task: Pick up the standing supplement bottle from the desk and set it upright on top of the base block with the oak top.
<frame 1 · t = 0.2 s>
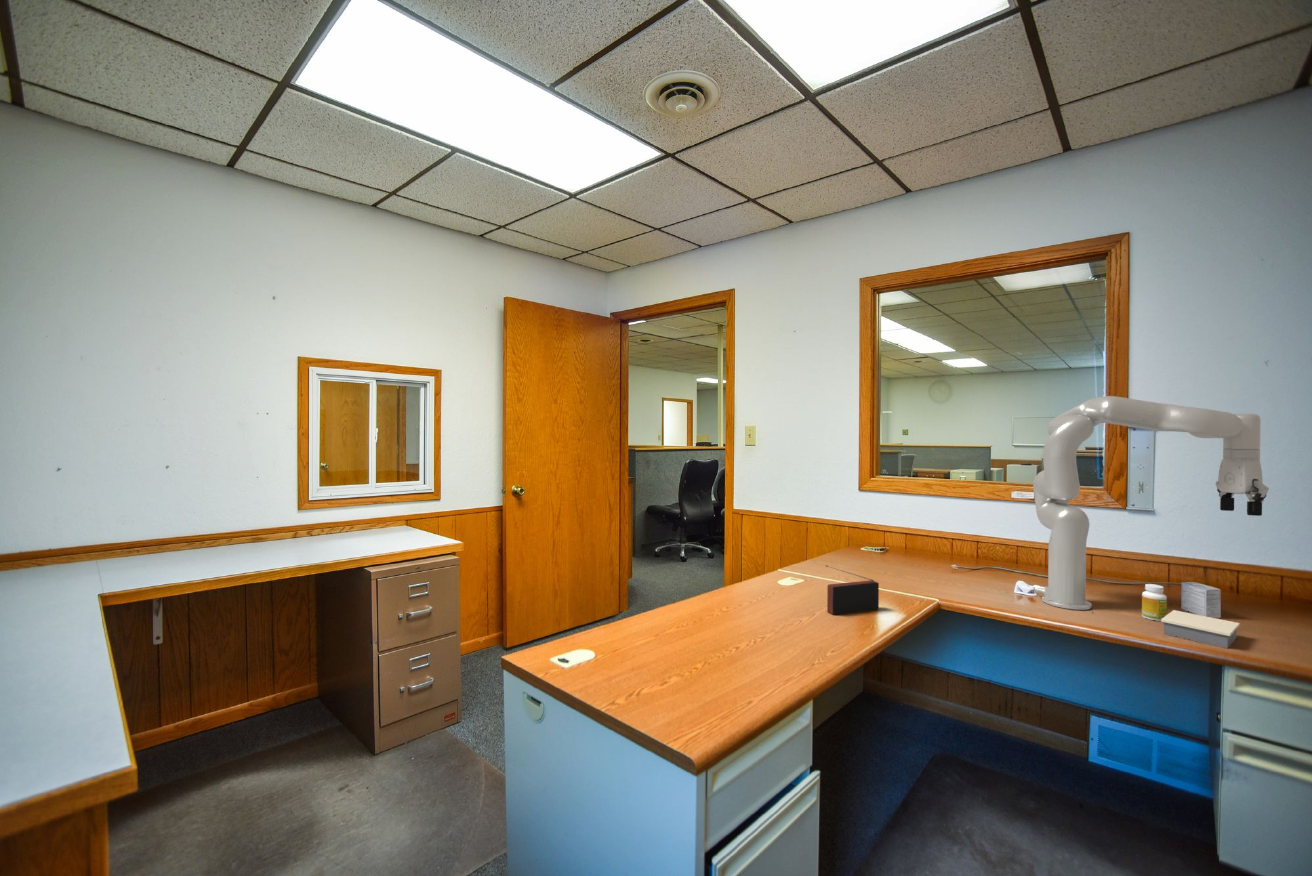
hand: (1240, 512, 162), 31 cm above the table, tool pointing down, fingers open, 9 cm apart
supplement bottle: (1153, 619, 160), on the table
medicine box: (1200, 614, 164), on the table
base block: (1199, 636, 147), on the table
radio: (849, 612, 167), on the table
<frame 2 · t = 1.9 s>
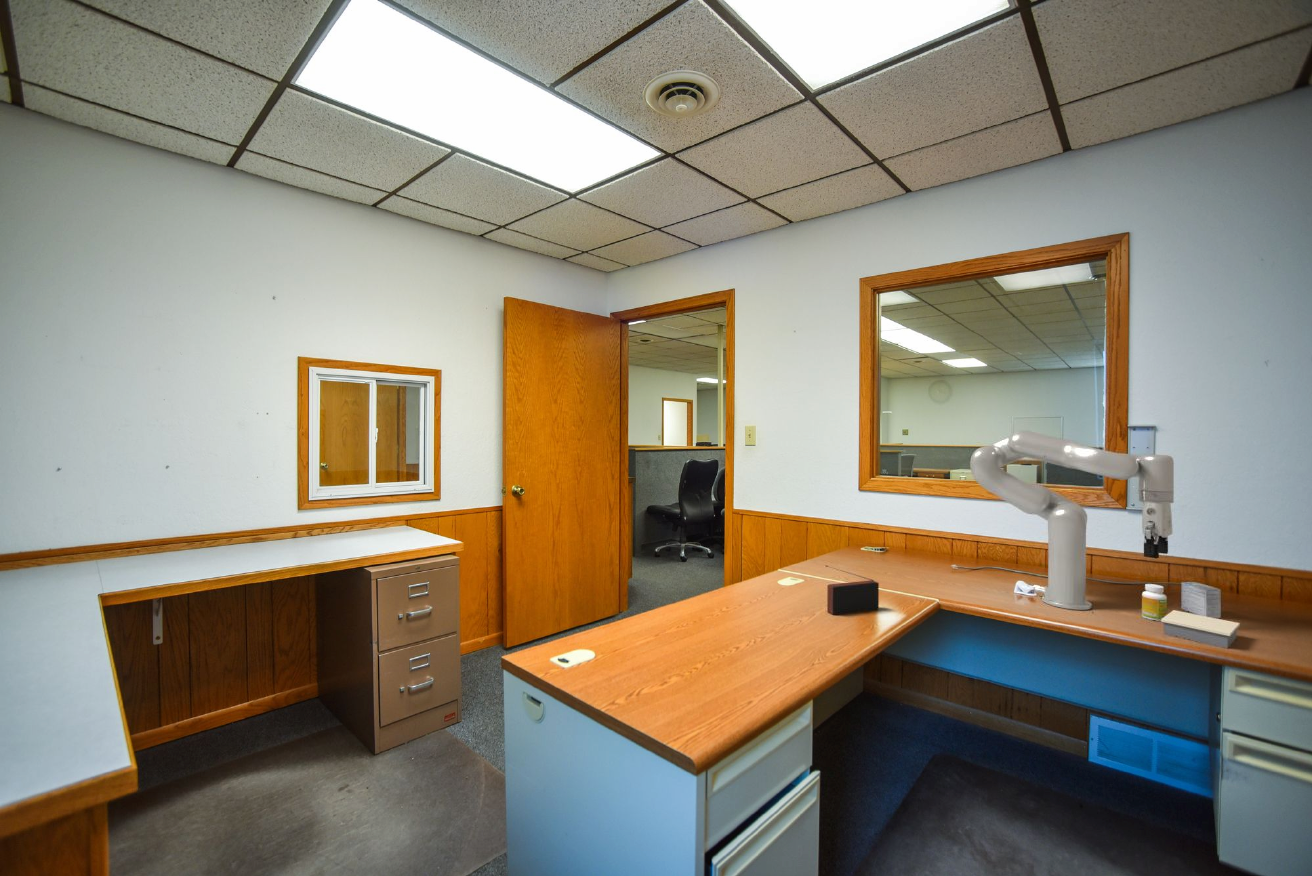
hand: (1156, 555, 160), 19 cm above the table, tool pointing down, fingers open, 9 cm apart
nothing on the table moved.
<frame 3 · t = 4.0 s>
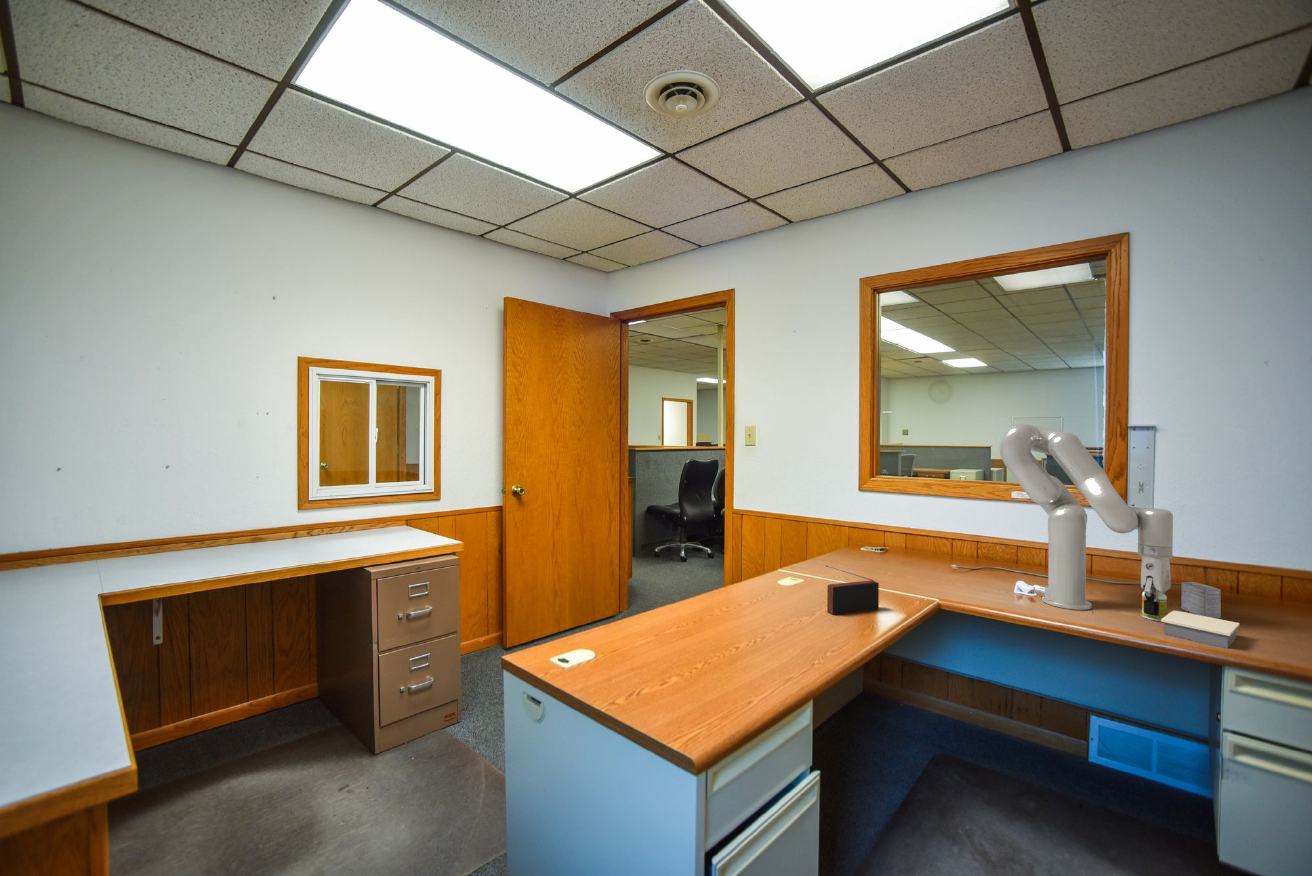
hand: (1154, 611, 160), 2 cm above the table, tool pointing down, fingers closed on supplement bottle, 5 cm apart
supplement bottle: (1153, 619, 160), on the table, touching gripper
everything else where it was.
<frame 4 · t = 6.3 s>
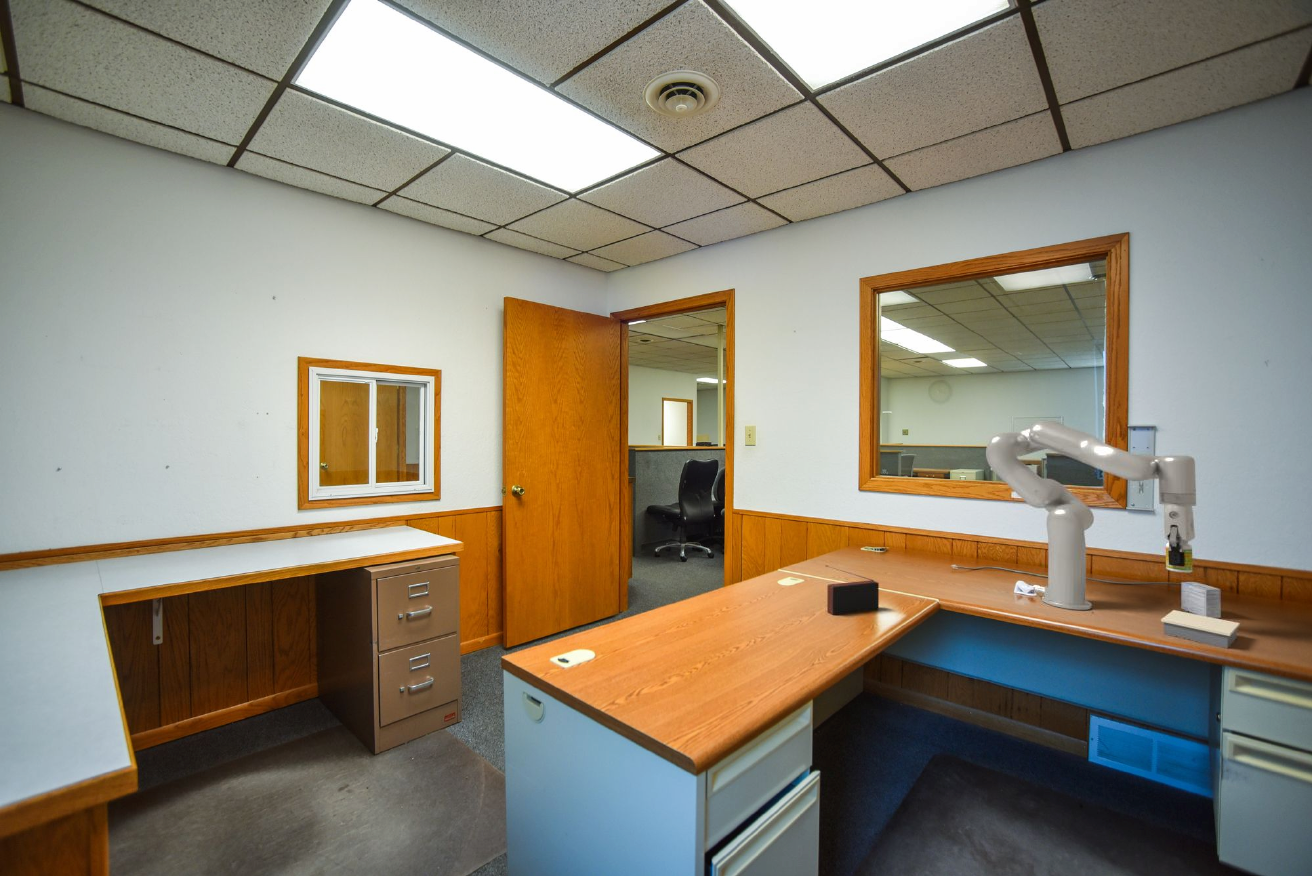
hand: (1179, 563, 153), 18 cm above the table, tool pointing down, fingers closed on supplement bottle, 5 cm apart
supplement bottle: (1179, 571, 153), point 16 cm above the table, touching gripper
everything else where it was.
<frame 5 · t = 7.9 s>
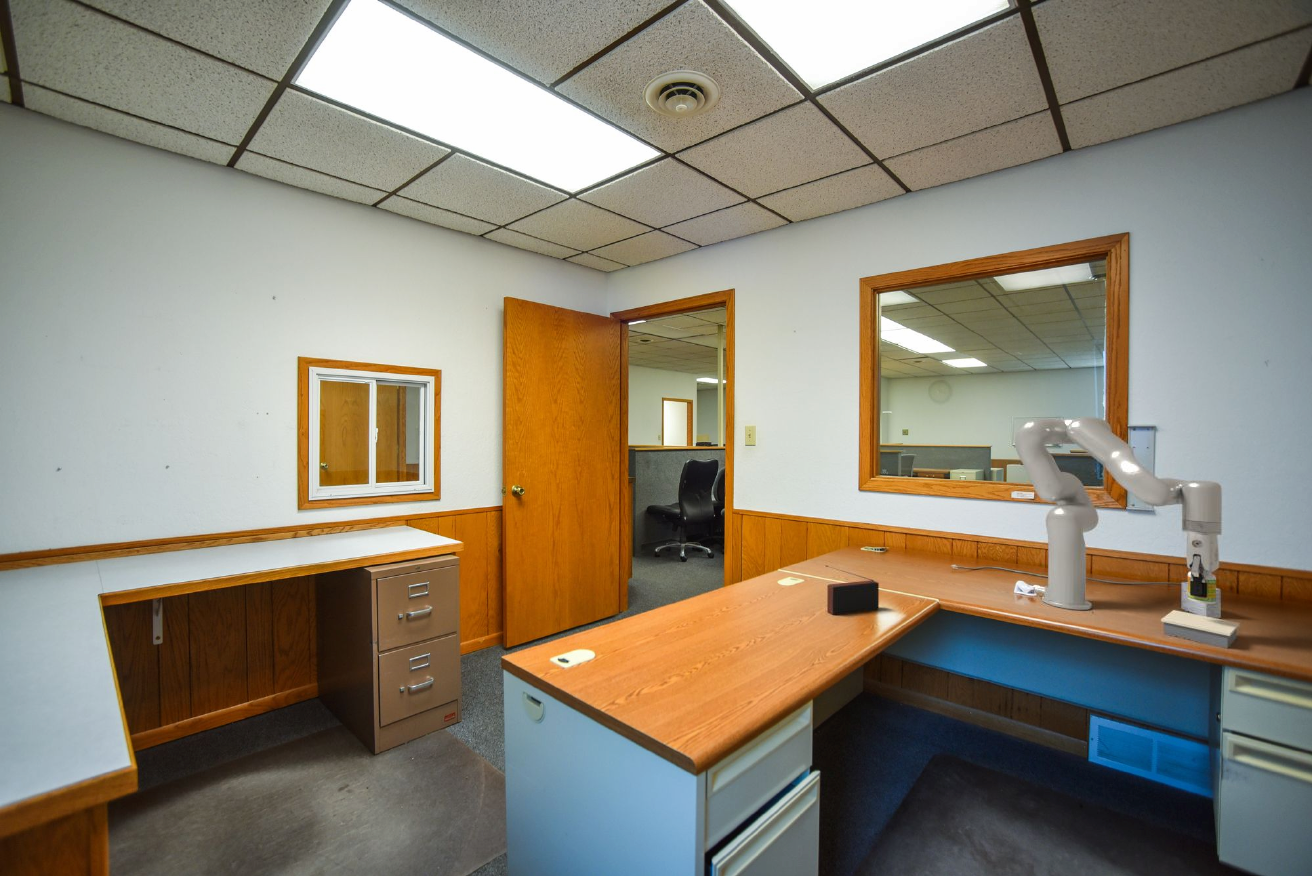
hand: (1201, 593, 146), 11 cm above the table, tool pointing down, fingers closed on supplement bottle, 5 cm apart
supplement bottle: (1201, 602, 146), point 9 cm above the table, touching gripper
everything else where it was.
when the fingers open (7 cm above the table, at t = 9.0 s): supplement bottle drops 1 cm, resting on base block.
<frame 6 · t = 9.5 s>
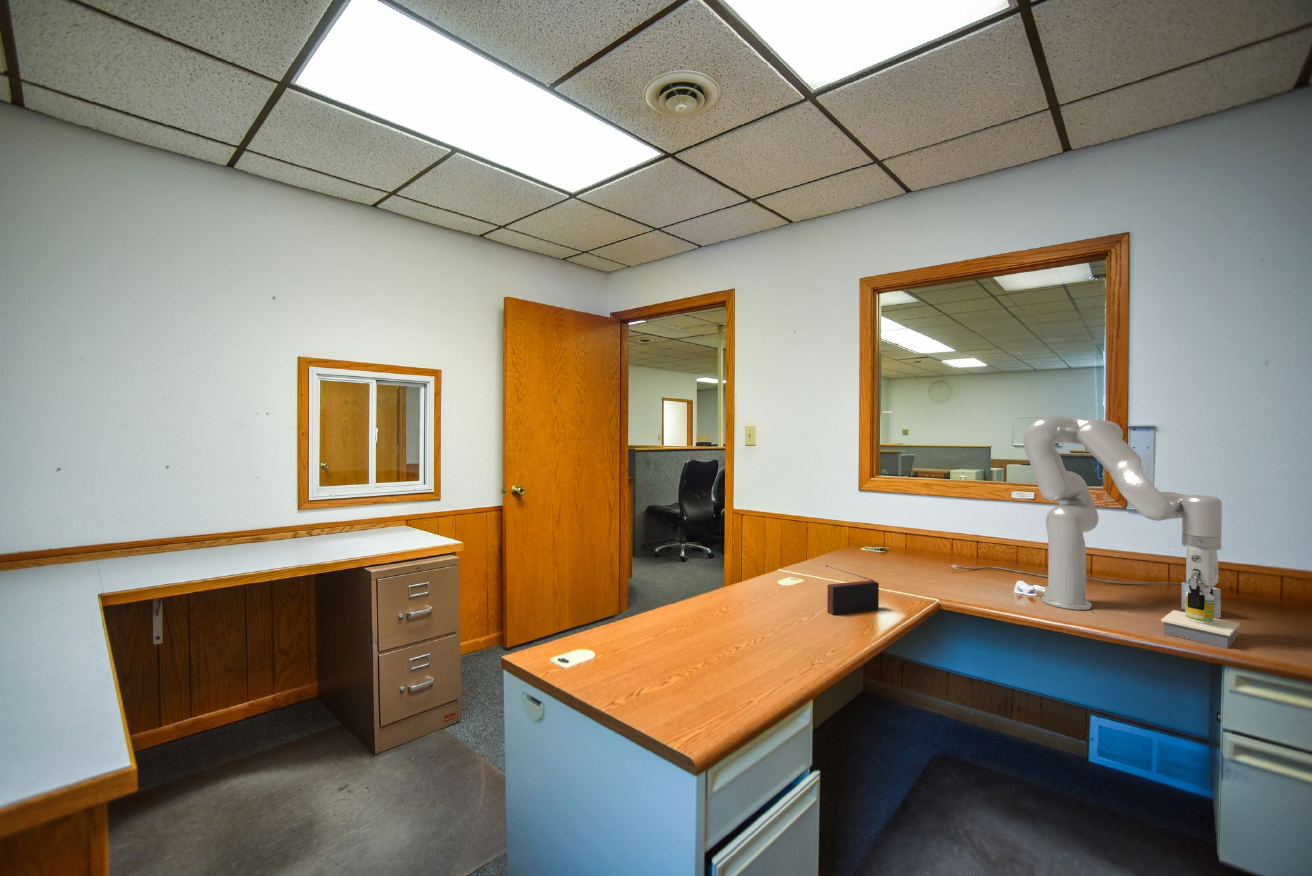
hand: (1200, 605, 147), 8 cm above the table, tool pointing down, fingers open, 9 cm apart
supplement bottle: (1199, 621, 147), point 4 cm above the table, touching base block
everything else where it was.
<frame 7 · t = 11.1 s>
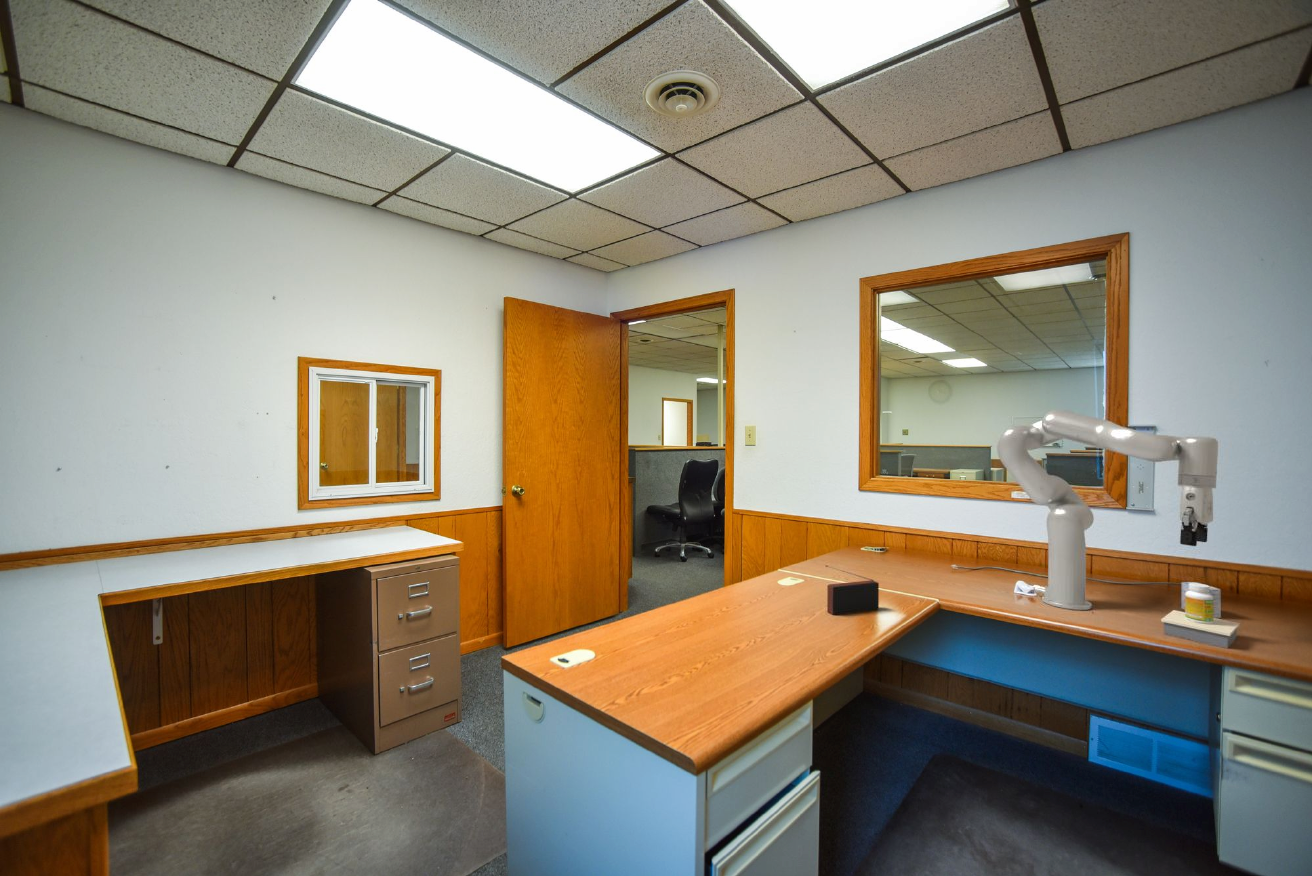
hand: (1193, 543, 151), 24 cm above the table, tool pointing down, fingers open, 9 cm apart
nothing on the table moved.
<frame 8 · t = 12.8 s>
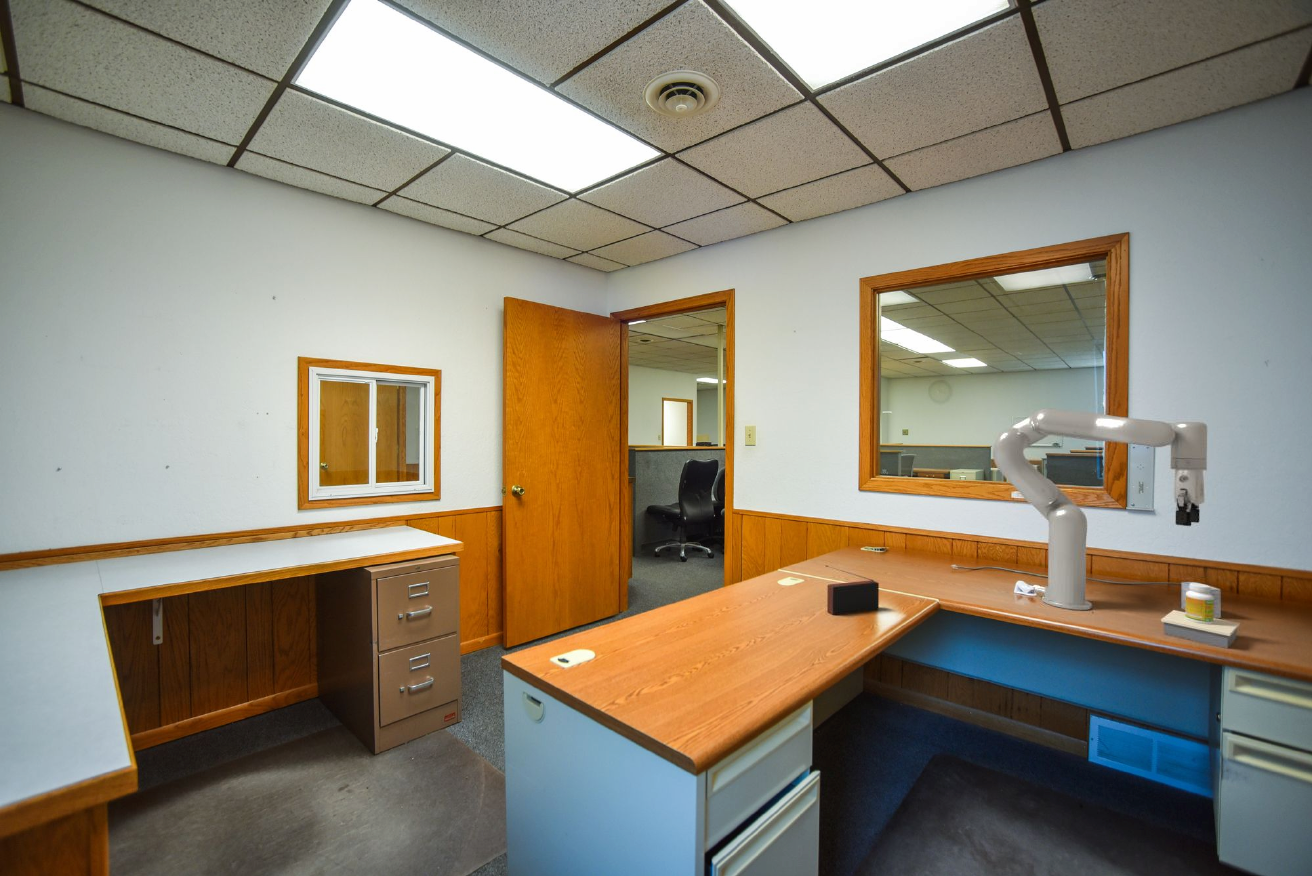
hand: (1187, 523, 158), 28 cm above the table, tool pointing down, fingers open, 9 cm apart
nothing on the table moved.
at the end: supplement bottle inside the target area on the base block (0.2 cm from its centre), point 3.8 cm above the base block's base; supplement bottle tilted 1°; supplement bottle touching base block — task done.
